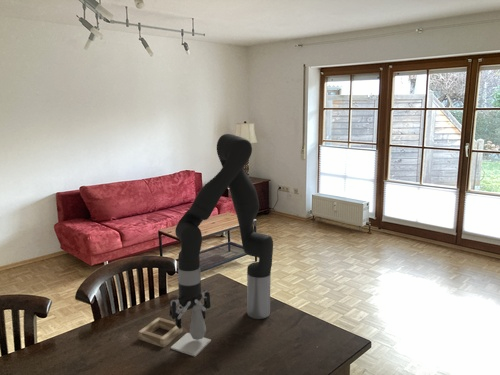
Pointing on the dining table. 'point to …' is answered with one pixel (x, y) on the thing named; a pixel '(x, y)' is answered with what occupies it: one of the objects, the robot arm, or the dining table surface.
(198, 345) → the felt pad
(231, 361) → the dining table surface
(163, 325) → the oak collar
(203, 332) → the salt shaker
